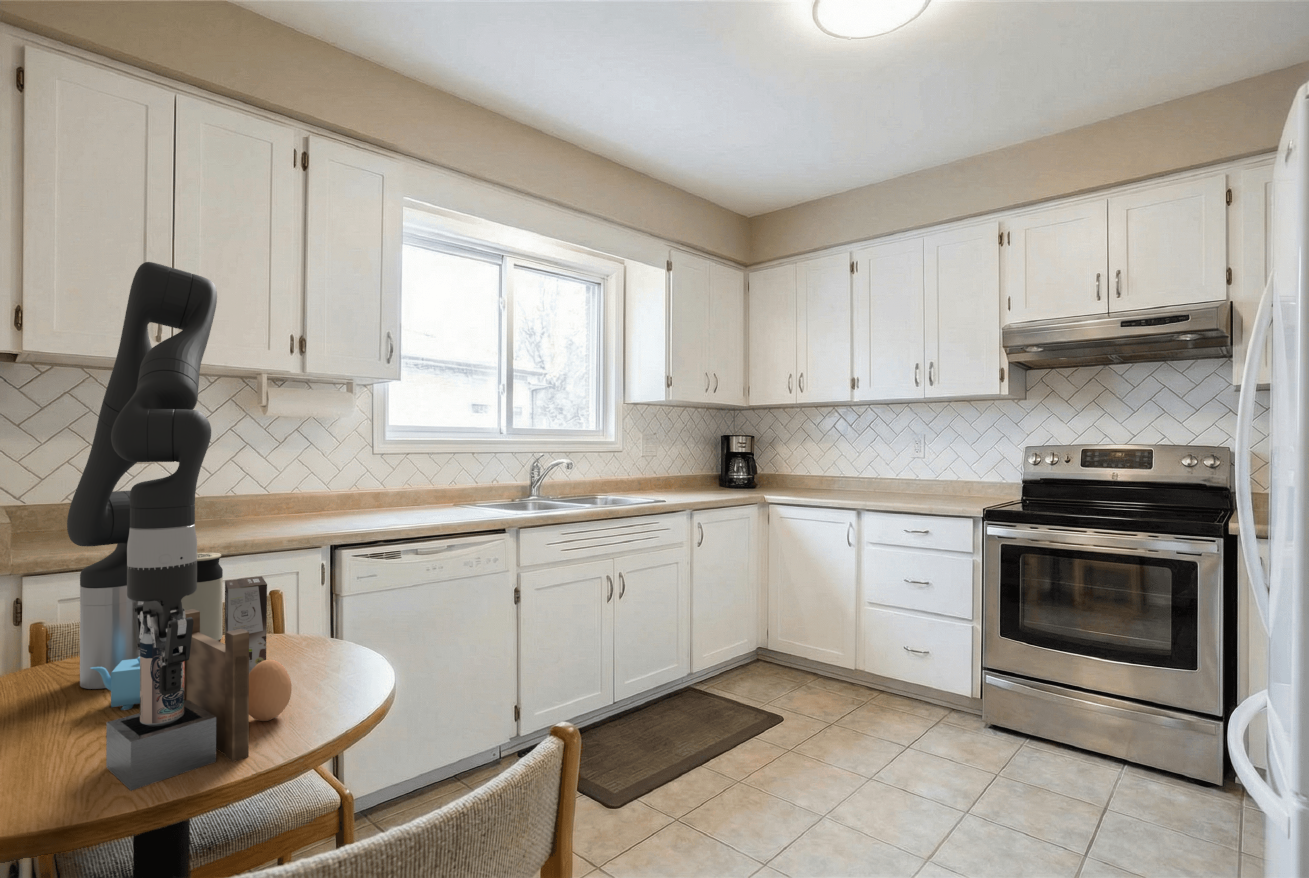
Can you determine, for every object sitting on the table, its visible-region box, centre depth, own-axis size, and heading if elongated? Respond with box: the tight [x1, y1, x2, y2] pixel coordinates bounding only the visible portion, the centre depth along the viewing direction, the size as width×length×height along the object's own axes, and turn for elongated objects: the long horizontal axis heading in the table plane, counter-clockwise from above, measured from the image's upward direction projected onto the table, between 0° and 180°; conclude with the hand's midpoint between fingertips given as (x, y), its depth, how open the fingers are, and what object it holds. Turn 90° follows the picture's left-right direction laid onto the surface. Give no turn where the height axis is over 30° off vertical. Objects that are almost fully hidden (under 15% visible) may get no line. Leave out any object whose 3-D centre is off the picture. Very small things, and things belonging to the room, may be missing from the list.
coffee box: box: [224, 576, 268, 673], centre depth 127 cm, size 9×6×16 cm
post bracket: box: [105, 700, 217, 792], centre depth 91 cm, size 9×9×6 cm
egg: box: [249, 659, 293, 722], centre depth 105 cm, size 7×7×9 cm
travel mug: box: [181, 552, 224, 641], centre depth 143 cm, size 8×8×18 cm
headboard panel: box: [184, 609, 250, 763], centre depth 98 cm, size 19×2×17 cm, turn 53°
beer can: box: [139, 630, 184, 726], centre depth 91 cm, size 5×5×12 cm
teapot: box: [90, 657, 140, 711], centre depth 111 cm, size 12×6×8 cm, turn 115°
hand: (162, 687), depth 91 cm, fingers closed on beer can, 4 cm apart
